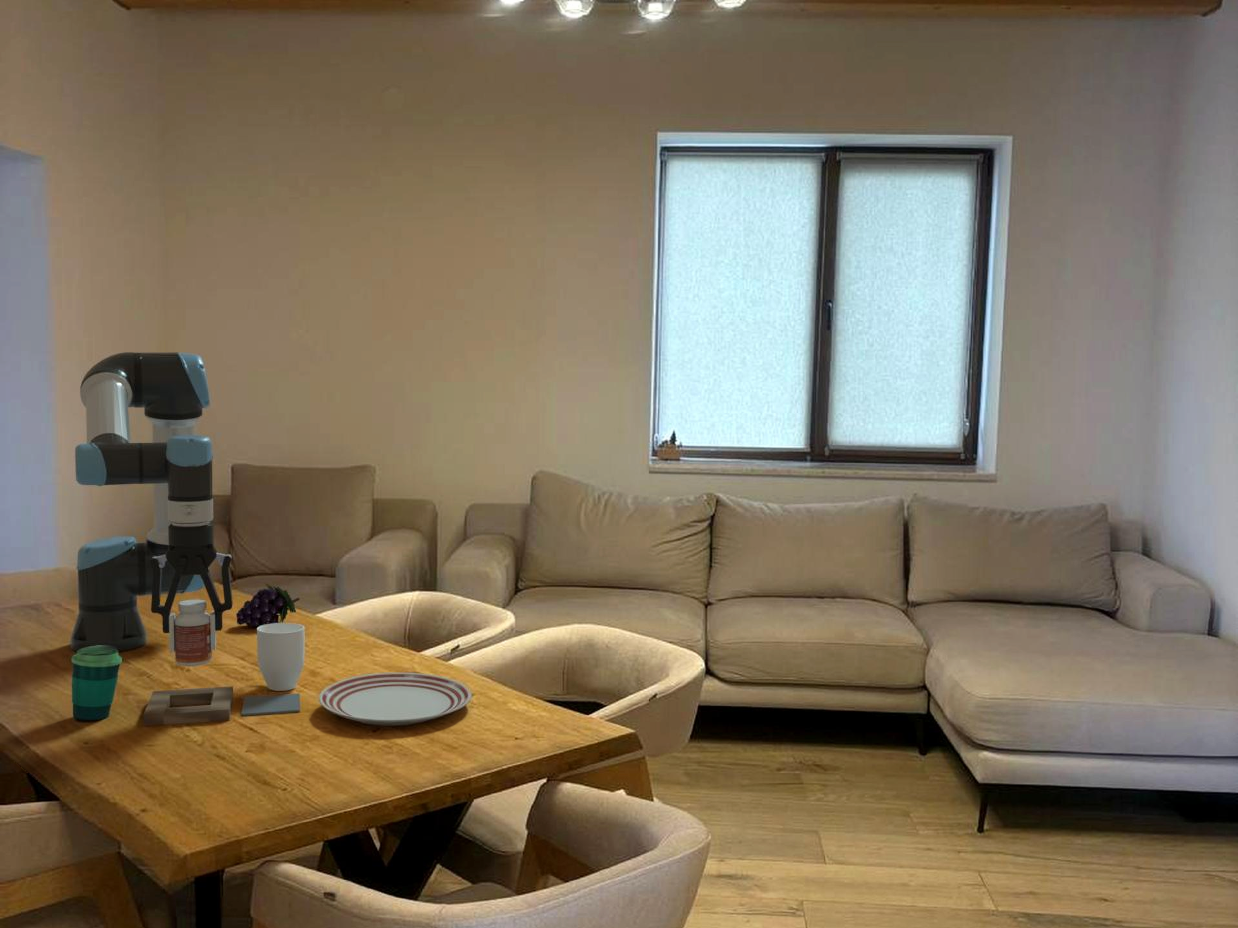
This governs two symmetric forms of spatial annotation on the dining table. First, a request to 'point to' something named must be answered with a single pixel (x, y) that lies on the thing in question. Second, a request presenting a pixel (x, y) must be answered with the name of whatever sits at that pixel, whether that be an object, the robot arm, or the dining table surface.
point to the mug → (281, 654)
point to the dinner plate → (394, 698)
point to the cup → (94, 682)
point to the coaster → (271, 704)
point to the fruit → (266, 607)
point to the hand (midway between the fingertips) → (193, 648)
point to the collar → (164, 715)
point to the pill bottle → (192, 634)
